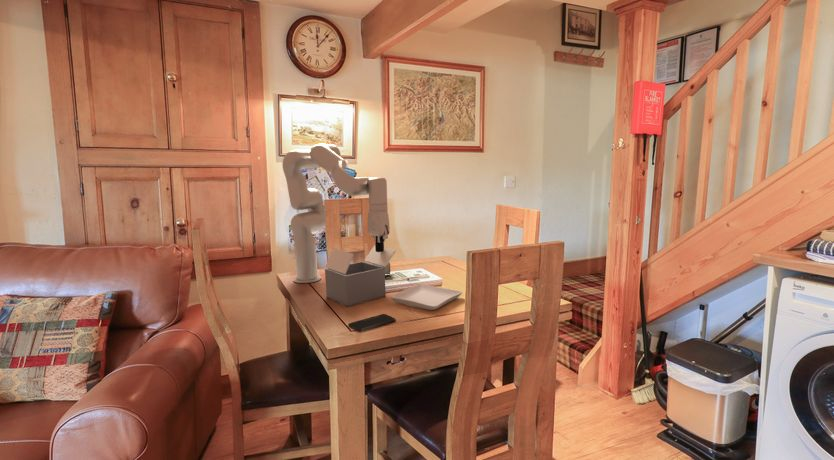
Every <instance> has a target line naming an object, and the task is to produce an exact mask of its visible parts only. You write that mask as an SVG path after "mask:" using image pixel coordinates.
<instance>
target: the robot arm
mask: <svg viewBox="0 0 834 460" xmlns="http://www.w3.org/2000/svg"><path fill="white" fill-rule="evenodd" d="M281 164H282V170H283V174H284V176H285V181H286V186H287V191H288V192H287V193H288V197H289V202H290V205H291V208H292V209H293V210H296V211H303V212H300V213H297V214H295V215H294V216H293V217H292V218H291V220H290V229H291V231H292V236H293V242H294V243H293V244H294V256H295V257H294V258H295V273H296V276H294V277H293V280H292V281H293V282H295V283H297V284H310V283H315V282H318V281H321V280H322V276H321V275H320V274H318V261H317V260H318V259H317V245H316V240H315V236H314V235H313V233H315V232H317V231H321V230H323V229H324V228H325V226H326V223H327V221H326V220H327V219H326V218H327V216H326V212H325V206H324V200H323V196H322V194H321V191H319V190H318V189H316V188H311V187H308V186H307V185H308V184H307V179H306V177H305V175H304V173H303V171H301V170H307V169H312V170H313V169H319V168H321V169H323V170H324V171H326V172H327V173H329V174H330V175H331V176H332V180H333V182H334V184H335V185H336V187H337V188H338V189H340V190H341V191H343V192H344V194H346V195H349V196H351V197H358V196H367V195H368V210H369V211H368V214H367V215H368V216H367V233H368V235H370V236H371V237H372V238H373V241H374V245H375V249H376V252H383V251H384V247H385V241H386V240H387V239H389V236H388V235H390V232H391V231H390V230H391V229H390V228H391V227H390V217H389V213H388V183H387V179H386V178H385V177H369V176H358V177H354V176H353V175H352V176H351V175H350V174H349V173H348V172H346V171H345V170H346V169H347V161H346V160H345V159H344V158H343V157H342V156H341V150H340V149H339V147H337V146H336V145H335V144H331V143H329V144H328V143H327V144H326V143H318V144H314V145H313V146H312V147H311V148H310V149H293V150H290V151H288V152H286V153H285V155H284V157H283V159H282V163H281ZM304 210H307V211H305V212H304Z"/></svg>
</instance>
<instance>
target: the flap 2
mask: <svg viewBox="0 0 834 460" xmlns="http://www.w3.org/2000/svg"><path fill="white" fill-rule="evenodd" d="M396 251H397V249H393V248H390V247H385V246H384V251H383V252H376V249H375V244H374V245H373V246H372V248H371V249H370V251H369V252H368V254H367V255H366V257H365V259H364V261H363V262H366V263H370V264H376V265H380V266H383V267H386V265H387V264H388V262H389V263H390V261H391V259H392V258H393V256H394V255H395V254H396Z"/></svg>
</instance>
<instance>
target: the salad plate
mask: <svg viewBox="0 0 834 460" xmlns="http://www.w3.org/2000/svg"><path fill="white" fill-rule="evenodd" d="M462 294H463V291H460V290H455V289H451V288H445V287H444V288H443V287H438V286H434V285H426V284H417V285H414V286H411V287H409V288H406V289H404V290H402V291H399V292H397V293H395V294H392V295H390V296H389V299H390V300H392V301H393V302H395V303H398V304H401V305H404V306H408V307H409V306H410V307H414V308H418V309H422V310H430V311H435V310H437V309H439V308H440V307H443V306H444V305H446V304H448V303H449V302H452V301H453V300H455V299H457V298H459V297H460V296H461V295H462Z"/></svg>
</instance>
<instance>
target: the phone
mask: <svg viewBox="0 0 834 460" xmlns="http://www.w3.org/2000/svg"><path fill="white" fill-rule="evenodd" d="M396 321H397V319H396V318H395V317H392V316H390V315H388V314H386V313H381V314H378V315H373V316H371V317H366V318H363V319H360V320H359V319H358V320H356V321H352V322H348V327H349V328H350V327H351V328H350V329H352V328H353V329H354V330H353V329H352V330H353V331H355V330H356V331H355V332H357V331H358V332H357V333H362V331H363V332H366V330H367V331H369V330H373V329H376V328H380V327H383V326H387V325H390V324H393V323H396Z"/></svg>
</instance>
